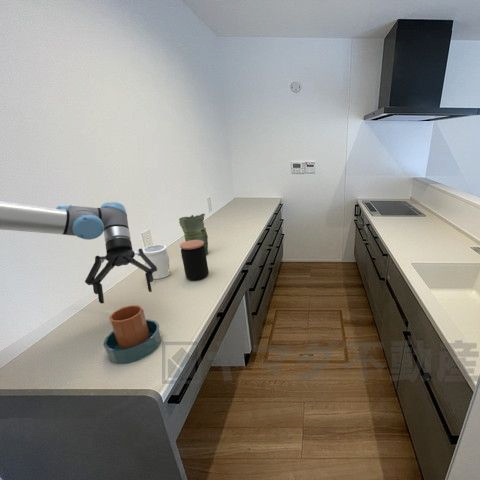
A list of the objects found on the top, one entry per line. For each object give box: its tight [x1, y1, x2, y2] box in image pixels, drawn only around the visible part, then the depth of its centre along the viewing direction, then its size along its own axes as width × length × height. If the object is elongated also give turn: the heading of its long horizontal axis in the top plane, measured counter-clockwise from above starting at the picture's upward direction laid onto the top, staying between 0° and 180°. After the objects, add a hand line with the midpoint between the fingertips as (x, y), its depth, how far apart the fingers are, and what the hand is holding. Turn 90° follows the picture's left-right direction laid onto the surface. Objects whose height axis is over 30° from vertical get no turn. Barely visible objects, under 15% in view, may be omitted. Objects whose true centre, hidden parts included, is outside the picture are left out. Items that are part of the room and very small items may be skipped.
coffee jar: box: [179, 240, 209, 282], centre depth 131 cm, size 11×11×18 cm
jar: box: [142, 244, 171, 280], centre depth 131 cm, size 11×10×15 cm
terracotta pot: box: [108, 304, 150, 349], centre depth 86 cm, size 8×9×13 cm
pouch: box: [178, 213, 209, 255], centre depth 154 cm, size 11×12×25 cm
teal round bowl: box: [102, 318, 163, 365], centre depth 87 cm, size 15×15×6 cm
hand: (126, 296), depth 89 cm, fingers open, 13 cm apart
